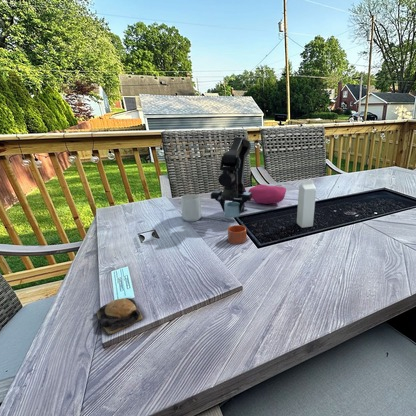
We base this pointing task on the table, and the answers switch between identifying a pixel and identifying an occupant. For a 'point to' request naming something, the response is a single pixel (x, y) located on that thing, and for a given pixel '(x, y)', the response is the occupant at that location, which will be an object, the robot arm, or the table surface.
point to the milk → (306, 203)
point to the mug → (191, 207)
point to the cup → (237, 234)
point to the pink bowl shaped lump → (267, 194)
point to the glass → (231, 209)
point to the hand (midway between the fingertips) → (232, 212)
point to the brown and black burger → (118, 315)
